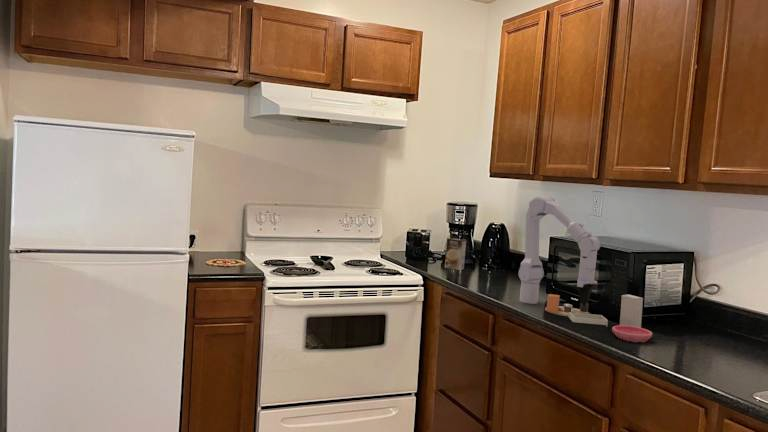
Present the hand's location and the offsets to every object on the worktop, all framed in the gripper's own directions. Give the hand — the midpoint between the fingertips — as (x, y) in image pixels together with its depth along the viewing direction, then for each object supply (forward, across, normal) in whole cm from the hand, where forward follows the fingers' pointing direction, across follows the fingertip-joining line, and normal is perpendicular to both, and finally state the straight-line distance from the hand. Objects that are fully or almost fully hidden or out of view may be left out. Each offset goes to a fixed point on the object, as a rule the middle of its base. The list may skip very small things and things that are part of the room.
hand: (583, 303), depth 223 cm
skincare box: (+5, -5, -18) cm, 19 cm away
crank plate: (+5, +2, +6) cm, 8 cm away
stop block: (+5, -3, +11) cm, 12 cm away
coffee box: (+6, +56, +86) cm, 103 cm away
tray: (+5, -8, -4) cm, 10 cm away
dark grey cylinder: (+4, +2, +6) cm, 7 cm away
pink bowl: (+6, -17, -22) cm, 28 cm away
